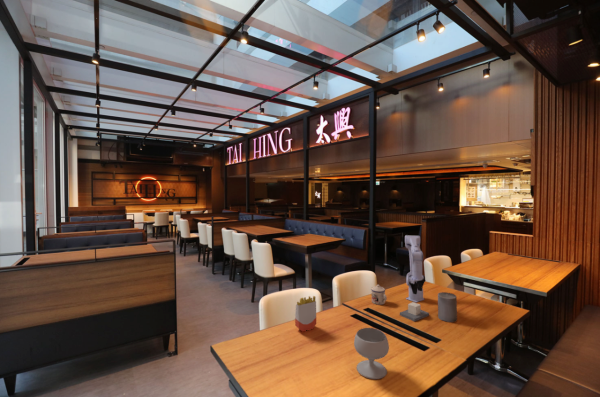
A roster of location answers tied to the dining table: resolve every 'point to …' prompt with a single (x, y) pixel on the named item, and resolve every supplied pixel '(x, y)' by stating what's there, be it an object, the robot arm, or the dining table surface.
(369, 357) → the chalice
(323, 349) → the dining table surface
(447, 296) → the pillar candle
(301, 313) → the french fries container
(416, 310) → the cube
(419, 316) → the serving board
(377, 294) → the teacup with lid
